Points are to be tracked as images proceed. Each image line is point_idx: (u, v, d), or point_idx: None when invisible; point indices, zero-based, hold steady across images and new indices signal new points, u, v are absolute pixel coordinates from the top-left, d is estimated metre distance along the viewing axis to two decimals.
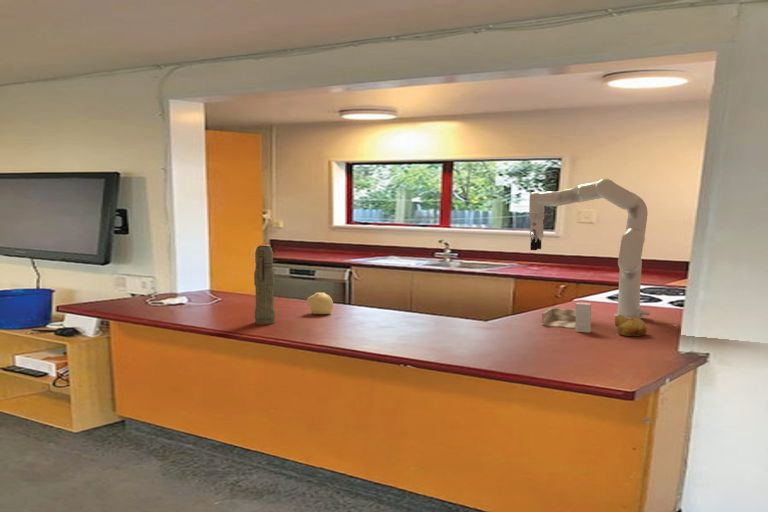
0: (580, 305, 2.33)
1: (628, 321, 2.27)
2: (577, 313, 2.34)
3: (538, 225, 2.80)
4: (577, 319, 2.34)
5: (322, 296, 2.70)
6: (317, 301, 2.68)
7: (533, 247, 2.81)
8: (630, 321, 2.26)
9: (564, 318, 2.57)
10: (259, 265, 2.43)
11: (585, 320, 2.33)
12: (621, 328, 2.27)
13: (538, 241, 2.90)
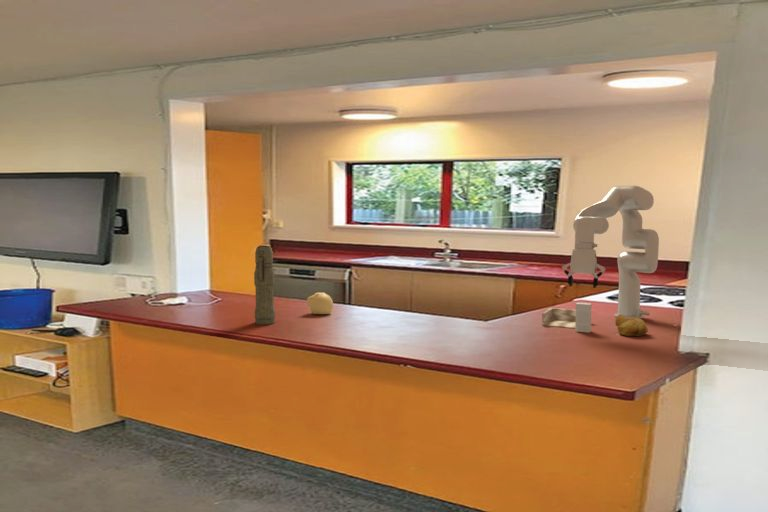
0: (580, 305, 2.33)
1: (628, 321, 2.27)
2: (577, 313, 2.34)
3: None
4: (577, 319, 2.34)
5: (322, 296, 2.70)
6: (316, 301, 2.68)
7: (597, 284, 2.32)
8: (630, 321, 2.27)
9: (564, 318, 2.57)
10: (259, 265, 2.43)
11: (585, 320, 2.33)
12: (621, 328, 2.27)
13: (571, 276, 2.38)
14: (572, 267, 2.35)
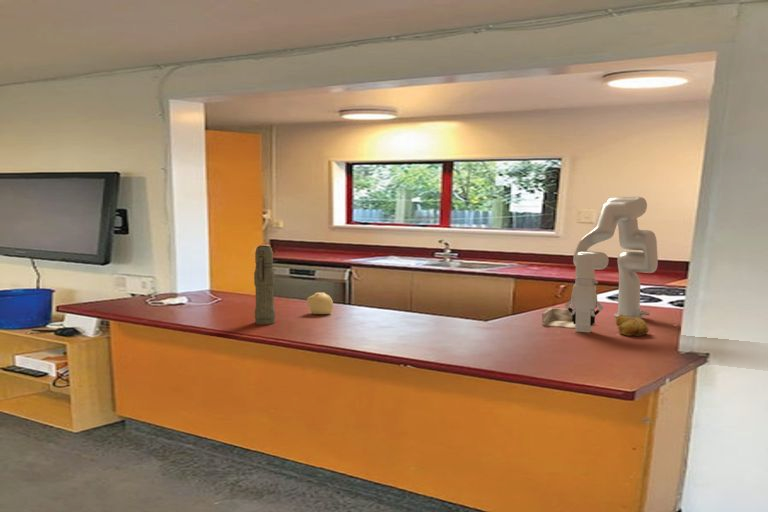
0: None
1: (629, 321, 2.27)
2: (577, 313, 2.34)
3: None
4: (577, 319, 2.34)
5: (322, 296, 2.70)
6: (316, 301, 2.68)
7: (594, 322, 2.33)
8: (631, 321, 2.27)
9: (564, 318, 2.57)
10: (259, 265, 2.43)
11: (585, 320, 2.33)
12: (622, 327, 2.28)
13: None
14: (573, 303, 2.35)
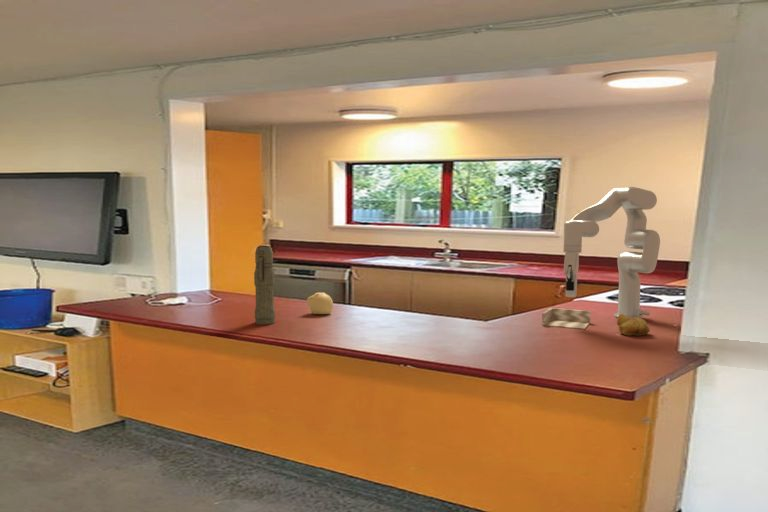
0: None
1: (629, 320, 2.28)
2: (575, 279, 2.43)
3: None
4: (575, 284, 2.43)
5: (322, 296, 2.70)
6: (316, 301, 2.68)
7: None
8: (631, 321, 2.27)
9: (564, 318, 2.57)
10: (259, 265, 2.43)
11: (576, 284, 2.46)
12: (622, 327, 2.28)
13: None
14: (575, 270, 2.41)
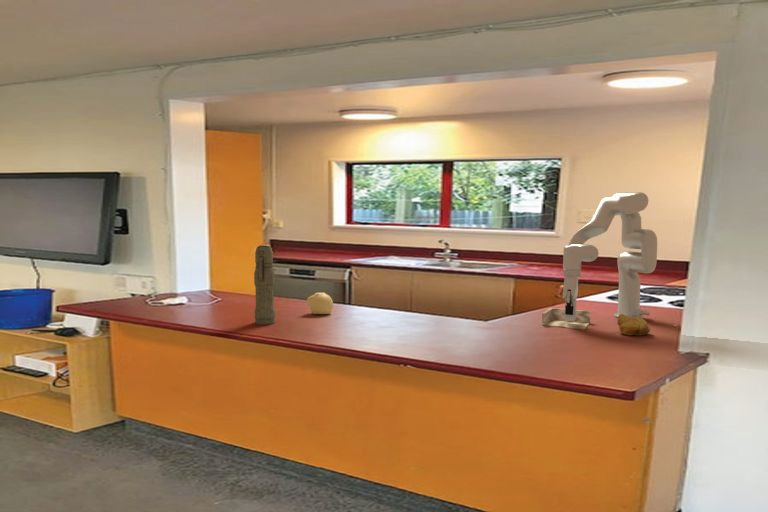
0: None
1: (630, 320, 2.28)
2: (575, 303, 2.44)
3: None
4: (575, 308, 2.44)
5: (322, 296, 2.70)
6: (316, 301, 2.68)
7: None
8: (632, 320, 2.27)
9: (564, 318, 2.57)
10: (259, 265, 2.43)
11: (575, 308, 2.47)
12: (623, 327, 2.29)
13: None
14: (574, 294, 2.42)
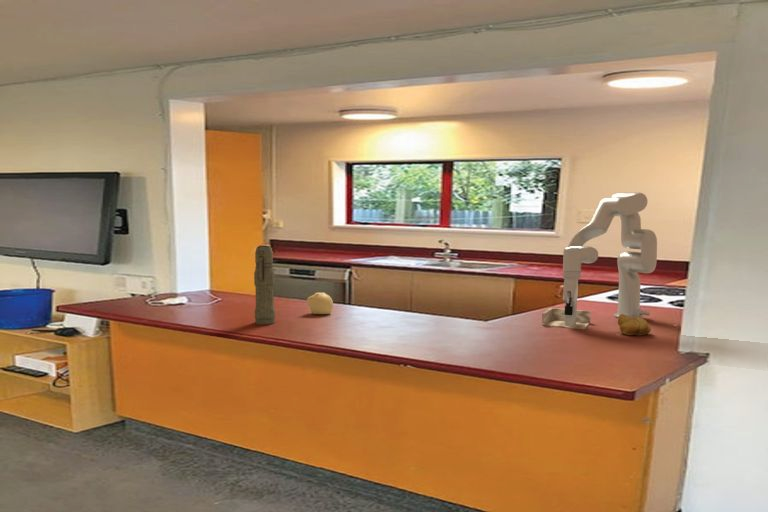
0: (575, 299, 2.45)
1: (630, 320, 2.28)
2: (574, 308, 2.44)
3: None
4: (574, 313, 2.44)
5: (322, 296, 2.70)
6: (317, 301, 2.68)
7: None
8: (632, 320, 2.28)
9: (564, 318, 2.57)
10: (259, 265, 2.43)
11: (575, 313, 2.47)
12: (623, 327, 2.29)
13: None
14: (574, 296, 2.42)
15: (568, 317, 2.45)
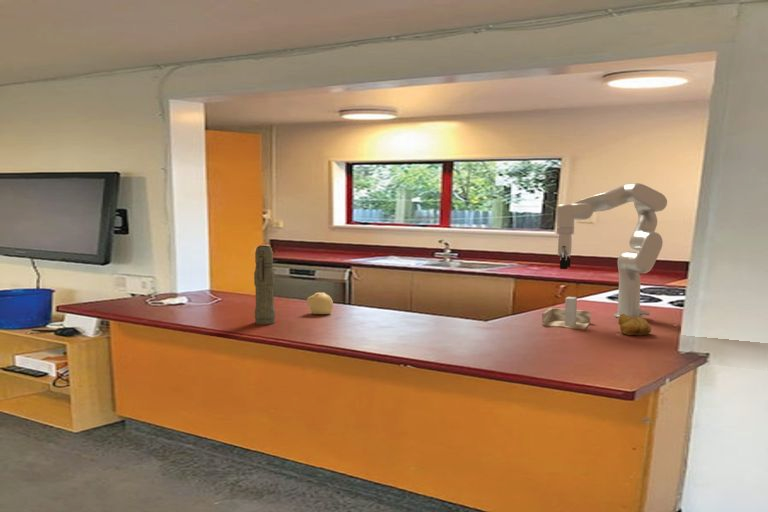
0: (575, 299, 2.45)
1: (630, 320, 2.28)
2: (574, 308, 2.44)
3: None
4: (574, 313, 2.44)
5: (322, 296, 2.70)
6: (316, 301, 2.68)
7: None
8: (632, 320, 2.28)
9: (564, 318, 2.57)
10: (259, 265, 2.43)
11: (575, 313, 2.47)
12: (623, 327, 2.29)
13: None
14: (568, 251, 2.53)
15: (568, 317, 2.45)
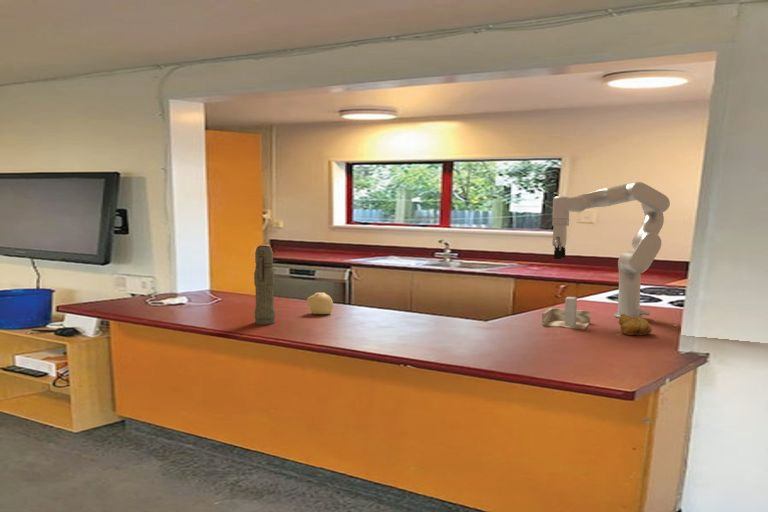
0: (575, 299, 2.45)
1: (631, 320, 2.28)
2: (574, 308, 2.44)
3: None
4: (574, 313, 2.44)
5: (322, 296, 2.70)
6: (316, 301, 2.68)
7: None
8: (632, 320, 2.28)
9: (564, 318, 2.57)
10: (259, 265, 2.43)
11: (575, 313, 2.47)
12: (623, 327, 2.29)
13: None
14: (563, 241, 2.61)
15: (568, 317, 2.45)
